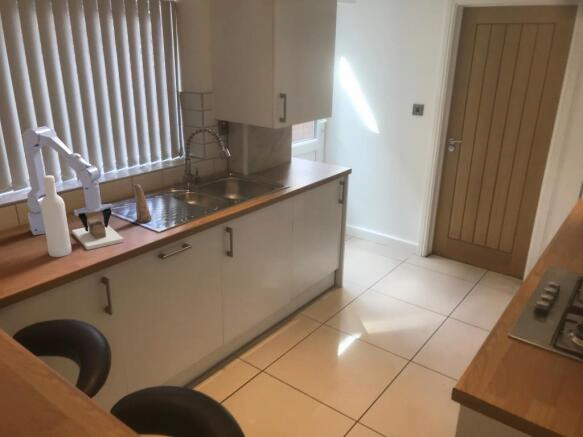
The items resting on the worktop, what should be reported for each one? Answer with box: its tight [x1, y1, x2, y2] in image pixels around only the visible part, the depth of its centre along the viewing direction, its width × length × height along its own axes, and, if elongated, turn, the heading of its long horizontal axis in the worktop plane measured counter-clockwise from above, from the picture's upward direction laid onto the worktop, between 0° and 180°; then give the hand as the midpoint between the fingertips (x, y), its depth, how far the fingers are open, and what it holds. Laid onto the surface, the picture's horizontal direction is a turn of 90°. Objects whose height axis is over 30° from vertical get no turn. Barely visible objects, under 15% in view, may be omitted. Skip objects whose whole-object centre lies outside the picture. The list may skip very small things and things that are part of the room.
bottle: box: [41, 175, 73, 258], centre depth 174 cm, size 8×8×30 cm
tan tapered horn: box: [133, 183, 152, 223], centre depth 210 cm, size 6×18×6 cm
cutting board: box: [71, 224, 125, 251], centre depth 193 cm, size 14×21×2 cm, turn 38°
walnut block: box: [87, 218, 106, 239], centre depth 192 cm, size 9×4×5 cm, turn 38°
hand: (96, 228), depth 192 cm, fingers open, 7 cm apart
